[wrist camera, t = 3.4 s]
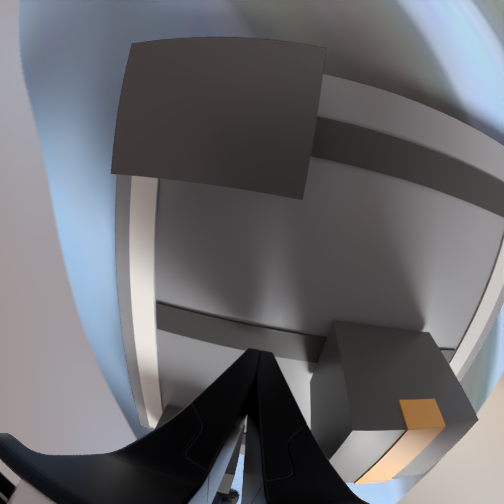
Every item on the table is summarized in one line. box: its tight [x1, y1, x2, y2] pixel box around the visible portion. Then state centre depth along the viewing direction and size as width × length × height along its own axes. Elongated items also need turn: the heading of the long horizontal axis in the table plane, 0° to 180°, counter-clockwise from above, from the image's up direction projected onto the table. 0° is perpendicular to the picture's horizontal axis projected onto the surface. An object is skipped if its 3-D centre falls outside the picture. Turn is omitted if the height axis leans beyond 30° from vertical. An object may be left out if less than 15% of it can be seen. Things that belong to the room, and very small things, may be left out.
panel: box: [111, 37, 504, 494], centre depth 9 cm, size 18×16×4 cm
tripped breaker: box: [310, 320, 478, 484], centre depth 7 cm, size 3×4×4 cm
